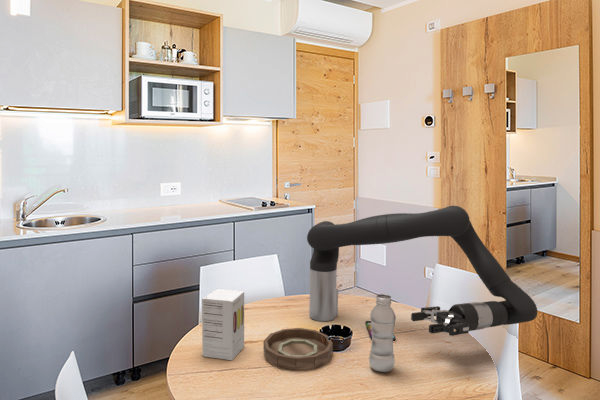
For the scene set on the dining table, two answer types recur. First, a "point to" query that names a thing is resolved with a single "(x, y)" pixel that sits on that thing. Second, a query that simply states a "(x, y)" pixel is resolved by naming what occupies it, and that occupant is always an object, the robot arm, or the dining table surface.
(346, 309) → the dining table surface
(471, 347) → the dining table surface
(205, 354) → the supplement box
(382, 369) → the plastic bottle
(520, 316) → the robot arm
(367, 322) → the smartphone
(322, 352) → the walnut tray
